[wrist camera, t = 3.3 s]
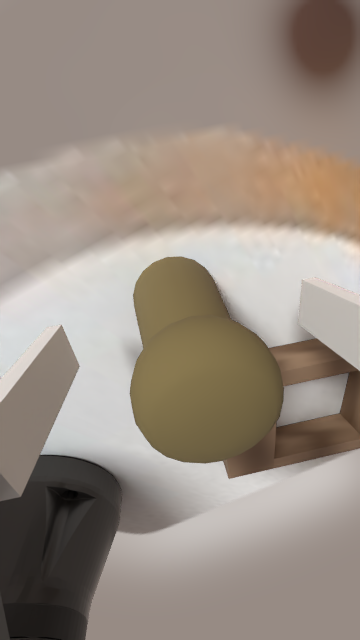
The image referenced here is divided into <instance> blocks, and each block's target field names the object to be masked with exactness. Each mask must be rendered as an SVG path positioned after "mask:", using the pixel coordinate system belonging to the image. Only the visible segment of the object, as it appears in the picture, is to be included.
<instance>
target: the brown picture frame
mask: <svg viewBox="0 0 360 640" xmlns="http://www.w3.org/2000/svg"><path fill="white" fill-rule="evenodd" d="M268 349H269V350H270V351H271V353H272V354H273V356H274V357H275V359H276V361H277V363H278V366H279V368H280V370H281V376H282V381H283V386H287V385H292V384H296V383H301V382H306V381H310V380H315V379H320V378H324V377H329V376H334V375H338V374H343V373H348V372H350V373H349V377H348V381H347V385H346V389H345V394H344V398H343V402H342V406H341V410H340V413H339V414H335V415H330V416H326V417H322V418H317V419H313V420H308V421H304V422H299V423H295V424H290V425H286V426H281V427H277V428H276V423H275V425H274V426H273V428H272V429H271V431H270V432H269V433H268V434H267V435H266V436H265V437H264V438H262V439H261V440H260V441H259V442H258V443H257V444H256V445H255V446H253V447H252V448H250V449H248V450H246V451H245V452H243V453H241V454H240V455H237V456H235V457H232V458H229V459H226V460H223V461H224V465H225V468H226V471H227V474H228V478H229V479H230V478H234V477H239V476H243V475H247V474H252V473H256V472H260V471H264V470H269V469H273V468H277V467H281V466H286V465H290V464H294V463H299V462H303V461H307V460H311V459H316V458H320V457H324V456H329V455H333V454H337V453H341V452H346V451H350V450H354V449H358V448H360V371H359V370H358V369H357V368H355V367H354V366H353V365H351V364H350V363H349V362H347V361H346V360H345V359H343V358H342V357H341V356H339V355H338V354H337V353H335V352H334V351H333V350H332V349H330V348H329V347H328V346H326V345H325V344H324V343H322V342H321V341H320V340H318V339H317V338H316V339H312V340H307V341H302V342H297V343H292V344H287V345H282V346H277V347H273V348H268Z"/></svg>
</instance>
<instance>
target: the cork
mask: <svg viewBox="0 0 360 640" xmlns="http://www.w3.org/2000/svg"><path fill="white" fill-rule="evenodd" d="M133 299H134V307H135V312H136V316H137V321H138V326H139V330H140V335H141V339H142V344H143V351H142V352H141V354H140V356H139V357H138V359H137V361H136V364H135V368H134V372H133V376H132V380H131V387H130V397H131V403H132V409H133V414H134V418H135V422H136V425H137V426H138V428H139V429H140V431H141V432H142V434H143V435H144V436H145V438H146V439H147V441H148V442H149V443H150V444H151V446H152V447H153V448H154V449H156V450H157V451H159V452H160V453H162V454H163V455H165V456H166V457H169V458H172V459H175V460H178V461H182V462H190V463H211V462H218V461H223V460H226V459H229V458H232V457H235V456H237V455H240V454H241V453H243V452H245V451H246V450H248V449H250V448H252V447H253V446H255V445H256V444H257V443H258V442H259V441H260V440H261V439H262V438H264V437H265V436H266V435H267V434H268V433H269V432H270V431H271V429H272V428H273V426H274V425H275V423H276V421H277V420H278V418H279V417H280V412H281V408H282V404H283V393H284V387H283V381H282V376H281V370H280V368H279V366H278V363H277V361H276V359H275V357H274V356H273V354H272V353H271V351H270V350H269V349H268V347H267V346H266V344H265V343H264V342H263V341H262V340H261V339H260V338H259V336H258V335H257V334H255V333H254V332H252V331H251V330H249V329H247V328H246V327H244V326H243V325H241V324H239V323H237V322H235V321H233V320H231V318H230V316H229V314H228V311H227V309H226V307H225V305H224V303H223V300H222V298H221V296H220V294H219V291H218V289H217V287H216V285H215V282H214V280H213V278H212V277H211V275H210V274H209V273H208V271H207V270H206V268H205V267H203V266H202V265H200V264H199V263H197V262H196V261H195V260H192V259H188V258H184V257H166V258H164V259H161V260H159V261H156V262H154V263H152V264H151V265H150V266H149V267H148V268H146V269H145V270H144V271H143V272H142V274H141V275H140V277H139V279H138V280H137V282H136V285H135V289H134V294H133Z"/></svg>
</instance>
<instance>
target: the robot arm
mask: <svg viewBox="0 0 360 640" xmlns="http://www.w3.org/2000/svg"><path fill="white" fill-rule="evenodd" d="M298 324H299V325H300V326H301V327H303V328H304V329H305V330H306V331H308V332H309V333H310V334H312V335H313V336H314V337H316V338H317V339H318V340H320V341H321V342H322V343H324V344H325V345H326V346H328V347H329V348H330V349H332V350H333V351H334V352H335V353H337V354H338V355H339V356H341V357H342V358H343V359H345V360H346V361H347V362H349V363H350V364H351V365H353V366H354V367H355V368H357V369H358V370H359V371H360V295H359V294H356V293H354V292H351V291H349V290H346V289H344V288H341V287H339V286H336V285H333V284H331V283H328V282H326V281H323V280H321V279H318V278H316V277H314V278H309V279H304V280H302V285H301V295H300V305H299V316H298ZM79 367H80V366H79V364H78V361H77V359H76V357H75V354H74V352H73V350H72V348H71V345H70V343H69V341H68V339H67V336H66V334H65V332H64V329H63V327H62V325H57V326H51V327H47V328H46V329H45V330H44V331H43V332H42V333H41V334H40V335H39V337H38V338H37V339H36V340H35V341H34V342H33V343H32V344H31V346H30V347H29V348H28V349H27V350H26V351H25V352H24V353H23V355H22V356H21V357H20V358H19V359H18V360H17V361H16V362H15V364H14V365H13V366H12V367H11V368H10V369H9V370H8V371H7V373H6V374H5V375H4V376H3V377H2V378H1V379H0V640H85V636H86V630H87V624H88V617H89V611H90V607H91V603H92V599H93V596H94V594H95V591H96V588H97V585H98V582H99V579H100V576H101V574H102V571H103V568H104V565H105V562H106V559H107V556H108V554H109V551H110V548H111V545H112V542H113V539H114V536H115V534H116V531H117V528H118V525H119V520H120V512H121V501H122V492H121V488H120V486H119V484H118V482H117V481H116V480H115V479H114V478H113V477H112V476H111V475H110V474H109V473H108V472H106V471H105V470H103V469H101V468H100V467H98V466H96V465H93V464H91V463H88V462H85V461H82V460H78V459H73V458H68V457H60V456H39V455H40V453H41V451H42V449H43V447H44V444H45V442H46V440H47V438H48V435H49V433H50V431H51V429H52V427H53V424H54V422H55V420H56V418H57V416H58V413H59V411H60V409H61V407H62V404H63V402H64V400H65V398H66V396H67V393H68V391H69V389H70V387H71V385H72V382H73V380H74V378H75V376H76V373H77V371H78V369H79Z"/></svg>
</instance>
